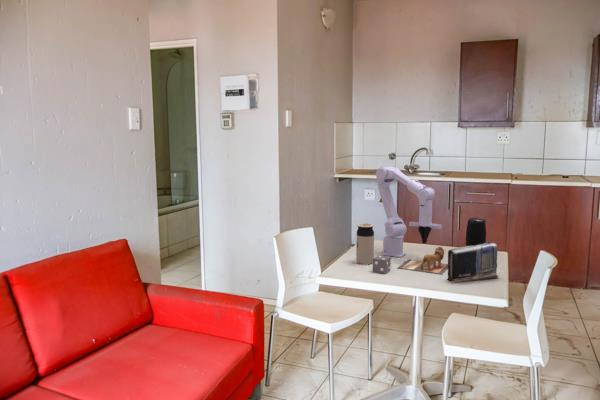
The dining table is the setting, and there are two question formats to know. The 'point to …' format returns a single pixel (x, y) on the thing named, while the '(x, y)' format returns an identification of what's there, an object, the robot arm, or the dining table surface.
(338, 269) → the dining table surface
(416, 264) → the board
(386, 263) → the die
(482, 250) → the radio
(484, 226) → the portable speaker
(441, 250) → the lion figurine
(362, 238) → the travel mug
